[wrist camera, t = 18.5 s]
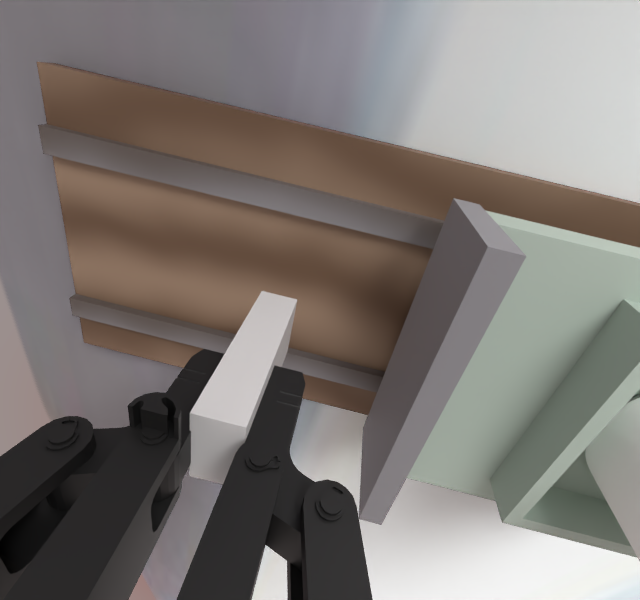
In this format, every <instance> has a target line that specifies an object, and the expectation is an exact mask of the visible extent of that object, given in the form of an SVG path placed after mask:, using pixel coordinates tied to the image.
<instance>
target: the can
mask: <svg viewBox="0 0 640 600" xmlns="http://www.w3.org/2000/svg"><path fill="white" fill-rule="evenodd" d="M585 457H586V462H587V465H588V467H589V469H590V471H591V473H592V475H593V477H594V479H595V481H596V483H597V485H598V486H599V488H600V490H601V492H602V494H603V496H604V497H605V499H606V501H607V503H608V505H609V507H610V508H611V510H612V512H613V514H614V516H615V517H616V519H617V521H618V523H619V525H620V526H621V528H622V530H623V532H624V534H625V536H626V537H627V539H628V541H629V543H630V545H631V546H632V548H633V550H634V552H635V554H636V555H637V557H638V559H639V561H640V394H637V395H635V396H633V397H632V398H631V399H630V400H629V401H628V402H627V404H626V405H625V406H624V407H623V408H622V409H621V410H620V411H619V412H618V413H617V415H616V416H615V417H614V418H613V419H612V420H611V421H610V422H609V423H608V425H607V426H606V427H605V428H604V429H603V430H602V431H601V432H600V433H599V434H598V436H597V437H596V438H595V439H594V440H593V441H592V442H591V443H590V444H589V446H588V447H587V448H586V451H585Z"/></svg>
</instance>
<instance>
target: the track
mask: <svg viewBox="0 0 640 600" xmlns="http://www.w3.org/2000/svg"><path fill="white" fill-rule="evenodd" d="M37 67H38V73H39V78H40V84H41V90H42V96H43V102H44V108H45V114H46V120H47V124H45V125H38V127H39V132H40V138H41V143H42V149H43V154H47V155H51V156H53V161H54V167H55V173H56V179H57V185H58V191H59V197H60V203H61V209H62V215H63V221H64V227H65V233H66V239H67V244H68V250H69V256H70V262H71V268H72V274H73V280H74V286H75V292H76V294H75V295H73V296H72V297H70V304H71V309H72V315H73V316H77V317H80V321H81V327H82V333H83V339H84V343H88V344H92V345H96V346H100V347H104V348H108V349H111V350H115V351H119V352H123V353H127V354H131V355H135V356H139V357H143V358H147V359H151V360H155V361H158V362H162V363H166V364H170V365H174V366H178V367H182V368H184V367H185V365H186V364H187V362H188V361H189V360H190V358H191V357H192V356H193V355H195V354H196V353H198V352H200V351H201V350H203V349H207V350H211V351H215V352H219V353H223V354H225V353H226V351H227V349H228V347H229V346H230V344H231V342H232V341H233V339H234V337H235V336H236V334H237V332H238V330H239V329H240V327H241V325H242V324H243V322H244V320H245V319H246V317H247V315H248V314H249V312H250V310H251V308H252V307H253V305H254V303H255V302H256V300H257V298H258V297H259V295H260V293H261V292H262V291H265V292H269V293H273V294H277V295H281V296H285V297H289V298H293V299H297V304H296V310H295V315H294V320H293V325H292V330H291V336H290V341H289V346H288V351H287V354H286V357H285V359H284V362H283V365H282V367H283V368H287V369H291V370H295V371H299V372H302V373H303V376H304V380H305V389H304V393H303V397H302V398H303V399H307V400H311V401H315V402H319V403H323V404H327V405H331V406H335V407H339V408H343V409H346V410H350V411H354V412H358V413H362V414H366V415H369V412H370V409H371V407H372V404H373V402H374V399H375V397H376V394H377V392H378V389H379V386H380V384H381V381H382V379H383V376H384V374H385V371H386V369H387V366H388V364H389V361H390V358H391V356H392V353H393V351H394V348H395V346H396V343H397V341H398V338H399V336H400V333H401V330H402V328H403V325H404V323H405V320H406V318H407V315H408V313H409V310H410V307H411V305H412V302H413V300H414V297H415V295H416V292H417V290H418V287H419V285H420V282H421V279H422V277H423V274H424V272H425V269H426V267H427V264H428V262H429V259H430V256H431V254H432V251H433V249H434V246H435V244H436V241H437V239H438V236H439V234H440V231H441V228H442V226H443V223H444V221H445V218H446V216H447V213H448V211H449V208H450V206H451V203H452V200H453V198H455V199H459V200H463V201H468V202H472V203H476V204H480V205H481V206H482V208H483V209H484V210H486V211H490V212H494V213H498V214H502V215H506V216H510V217H515V218H519V219H523V220H527V221H531V222H535V223H539V224H544V225H548V226H552V227H556V228H560V229H564V230H568V231H572V232H577V233H581V234H585V235H589V236H593V237H597V238H601V239H606V240H610V241H614V242H618V243H622V244H626V245H630V246H634V247H639V248H640V203H636V202H632V201H628V200H624V199H619V198H615V197H611V196H607V195H603V194H599V193H594V192H590V191H586V190H582V189H578V188H573V187H569V186H565V185H561V184H557V183H553V182H548V181H544V180H540V179H536V178H532V177H527V176H523V175H519V174H515V173H511V172H507V171H502V170H498V169H494V168H490V167H486V166H482V165H477V164H473V163H469V162H465V161H461V160H456V159H452V158H448V157H444V156H440V155H436V154H431V153H427V152H423V151H419V150H415V149H410V148H406V147H402V146H398V145H394V144H390V143H385V142H381V141H377V140H373V139H369V138H365V137H360V136H356V135H352V134H348V133H344V132H339V131H335V130H331V129H327V128H323V127H319V126H314V125H310V124H306V123H302V122H298V121H293V120H289V119H285V118H281V117H277V116H273V115H268V114H264V113H260V112H256V111H252V110H248V109H243V108H239V107H235V106H231V105H227V104H222V103H218V102H214V101H210V100H206V99H202V98H197V97H193V96H189V95H185V94H181V93H176V92H172V91H168V90H164V89H160V88H156V87H151V86H147V85H143V84H139V83H135V82H131V81H126V80H122V79H118V78H114V77H110V76H105V75H101V74H97V73H93V72H89V71H85V70H80V69H76V68H72V67H68V66H64V65H59V64H55V63H45V62H37Z"/></svg>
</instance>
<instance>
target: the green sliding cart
mask: <svg viewBox="0 0 640 600" xmlns="http://www.w3.org/2000/svg"><path fill="white" fill-rule="evenodd" d="M637 394H640V248H639V247H634V246H630V245H626V244H622V243H618V242H614V241H610V240H606V239H601V238H597V237H593V236H589V235H585V234H581V233H577V232H572V231H568V230H564V229H560V228H556V227H552V226H548V225H544V224H539V223H535V222H531V221H527V220H523V219H519V218H515V217H510V216H506V215H502V214H498V213H494V212H490V211H486V210H484V209H483V208H482V206H481V205H480V204H476V203H472V202H468V201H463V200H459V199H455V198H453V200H452V203H451V206H450V208H449V211H448V213H447V216H446V218H445V221H444V223H443V226H442V228H441V231H440V234H439V236H438V239H437V241H436V244H435V246H434V249H433V251H432V254H431V256H430V259H429V262H428V264H427V267H426V269H425V272H424V274H423V277H422V279H421V282H420V285H419V287H418V290H417V292H416V295H415V297H414V300H413V302H412V305H411V307H410V310H409V313H408V315H407V318H406V320H405V323H404V325H403V328H402V330H401V333H400V336H399V338H398V341H397V343H396V346H395V348H394V351H393V353H392V356H391V358H390V361H389V364H388V366H387V369H386V371H385V374H384V376H383V379H382V381H381V384H380V386H379V389H378V392H377V394H376V397H375V399H374V402H373V404H372V407H371V409H370V412H369V415H368V417H367V420H366V422H365V425H364V427H363V443H362V464H361V485H360V506H359V519H361V520H365V521H369V522H373V523H377V524H380V525H381V524H382V522H383V520H384V519H385V517H386V515H387V513H388V511H389V509H390V508H391V506H392V504H393V502H394V500H395V498H396V496H397V495H398V493H399V491H400V489H401V487H402V485H403V484H404V482H405V480H406V478H409V479H413V480H417V481H420V482H424V483H428V484H432V485H436V486H440V487H444V488H447V489H451V490H455V491H459V492H463V493H467V494H471V495H475V496H478V497H482V498H486V499H490V500H494V501H496V503H497V506H498V510H499V513H500V517H501V520H502V523H506V524H510V525H514V526H518V527H522V528H526V529H529V530H533V531H537V532H541V533H545V534H549V535H553V536H556V537H560V538H564V539H568V540H572V541H576V542H580V543H583V544H587V545H591V546H595V547H599V548H603V549H606V550H610V551H614V552H618V553H622V554H626V555H630V556H633V557H637V555H636V554H635V552H634V550H633V548H632V546H631V545H630V543H629V541H628V539H627V537H626V536H625V534H624V532H623V530H622V528H621V526H620V525H619V523H618V521H617V519H616V517H615V516H614V514H613V512H612V510H611V508H610V507H609V505H608V503H607V501H606V499H605V497H604V496H603V494H602V492H601V490H600V488H599V486H598V485H597V483H596V481H595V479H594V477H593V475H592V473H591V471H590V469H589V467H588V465H587V462H586V457H585V451H586V448H587V447H588V446H589V444H590V443H591V442H592V441H593V440H594V439H595V438H596V437H597V436H598V434H599V433H600V432H601V431H602V430H603V429H604V428H605V427H606V426H607V425H608V423H609V422H610V421H611V420H612V419H613V418H614V417H615V416H616V415H617V413H618V412H619V411H620V410H621V409H622V408H623V407H624V406H625V405H626V404H627V402H628V401H629V400H630V399H631V398H632V397H633V396H635V395H637ZM637 558H638V557H637Z"/></svg>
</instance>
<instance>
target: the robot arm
mask: <svg viewBox="0 0 640 600" xmlns="http://www.w3.org/2000/svg"><path fill="white" fill-rule="evenodd" d="M296 304H297V299H293V298H289V297H285V296H281V295H277V294H273V293H269V292H265V291H262V292H261V293H260V295H259V297H258V298H257V300H256V302H255V303H254V305H253V307H252V308H251V310H250V312H249V314H248V315H247V317H246V319H245V320H244V322H243V324H242V325H241V327H240V329H239V330H238V332H237V334H236V336H235V337H234V339H233V341H232V342H231V344H230V346H229V347H228V349H227V351H226V353H225V354H223V353H219V352H215V351H211V350H207V349H203V350H201V351H200V352H198V353H196V354H195V355H193V356H192V357H191V358H190V360H189V361H188V362H187V364H186V365H185V367H184V369H182V371H181V372H180V374H179V375H178V378H176V379H175V381H174V382H173V384H172V385H171V386H170V388H169V389H168V391H167V392H166V393H159V392H155V393H149V394H145V395H143V396H140V397H138V398H136V399H135V400H134V401H132V402H131V403H130V404H129V405H128V412H129V420H130V426H128V427H122V428H108V429H93V426H92V424H91V423H90V422H89V421H88V420H87V419H85V418H82V417H78V416H69V417H63V418H59V419H56V420H53V421H51V422H50V423H48V424H46V425H44V426H42V427H41V428H39V429H38V430H37V431H35V432H34V433H32V434H31V435H30V436H28V437H27V438H25V439H24V440H23V441H21V442H20V443H18V444H17V445H16V446H14V447H13V448H11V449H10V450H9V451H7V452H6V453H5V454H3V455H2V456H0V600H128V599H129V597H130V595H131V593H132V591H133V589H134V587H135V585H136V583H137V581H138V578H139V577H140V575H141V573H142V571H143V569H144V567H145V565H146V563H147V561H148V559H149V557H150V555H151V552H152V550H153V548H154V546H155V544H156V542H157V540H158V538H159V536H160V534H161V532H162V530H163V528H164V526H165V524H166V522H167V520H168V518H169V516H170V514H171V512H172V510H173V508H174V506H175V504H176V502H177V500H178V498H179V496H180V492H181V488H182V479H183V477H184V475H185V473H186V471H187V469H188V467H189V476H191V477H195V478H199V479H202V480H206V481H210V482H214V483H218V484H222V485H223V486H222V488H221V491H220V493H219V496H218V498H217V501H216V503H215V506H214V508H213V510H212V513H211V515H210V518H209V520H208V523H207V525H206V528H205V530H204V533H203V535H202V538H201V540H200V543H199V545H198V548H197V550H196V553H195V555H194V558H193V560H192V563H191V565H190V568H189V570H188V573H187V575H186V578H185V580H184V583H183V585H182V587H181V590H180V592H179V595H178V597H177V600H251V599H252V595H253V591H254V587H255V584H256V580H257V576H258V572H259V568H260V564H261V560H262V556H263V552H264V548H265V544H266V545H267V546H268V547H270V548H271V549H272V550H274V551H275V552H276V553H278V554H279V555H280V556H282V557H283V558H284V559H286V560H287V581H288V600H372V594H371V589H370V583H369V577H368V571H367V565H366V559H365V554H364V548H363V542H362V536H361V530H360V524H359V518H358V513H357V507H356V504H355V501H354V498H353V496H352V494H351V493H350V492H349V491H348V489H347V488H346V487H344V486H343V485H341V484H340V483H338V482H335V481H330V480H323V481H318V482H314V481H312V480H311V479H309V478H308V477H306V476H305V475H303V474H302V473H301V472H300V471H298V469H297V468H296V467H295V466H294V464H293V462H292V460H291V457H290V445H291V441H292V437H293V433H294V430H295V426H296V422H297V418H298V414H299V410H300V405H301V401H302V397H303V393H304V389H305V380H304V376H303V373H302V372H299V371H295V370H291V369H287V368H283V367H282V365H283V362H284V359H285V357H286V354H287V351H288V346H289V341H290V336H291V330H292V325H293V320H294V315H295V310H296Z"/></svg>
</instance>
